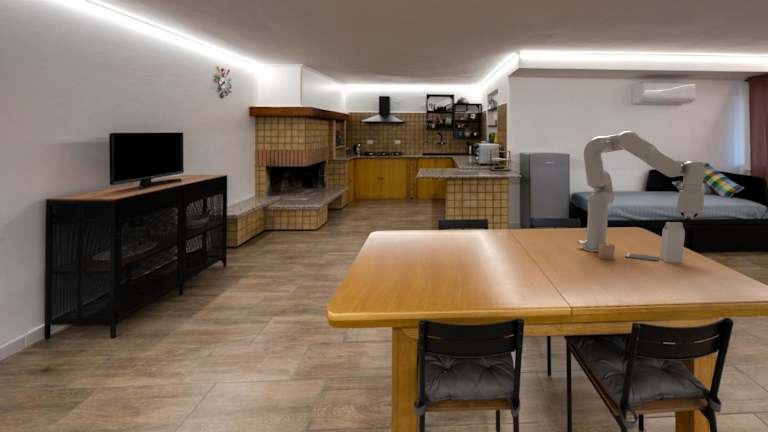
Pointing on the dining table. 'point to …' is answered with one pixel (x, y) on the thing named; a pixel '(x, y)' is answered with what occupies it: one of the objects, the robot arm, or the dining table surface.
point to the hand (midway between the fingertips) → (687, 226)
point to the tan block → (606, 251)
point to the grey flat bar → (642, 257)
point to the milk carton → (672, 242)
